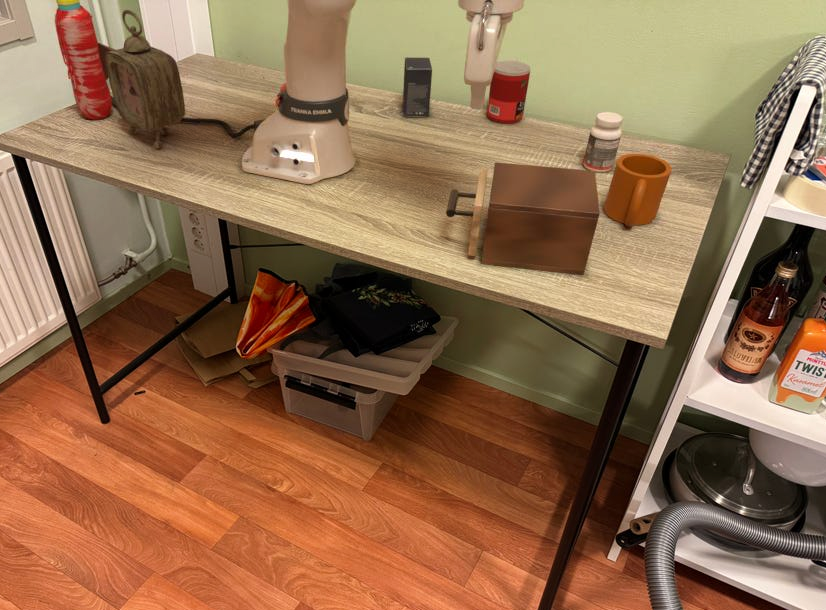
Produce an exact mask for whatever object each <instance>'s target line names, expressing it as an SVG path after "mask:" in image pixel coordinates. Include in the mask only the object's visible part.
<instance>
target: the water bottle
mask: <svg viewBox="0 0 826 610" xmlns="http://www.w3.org/2000/svg"><path fill="white" fill-rule="evenodd" d="M55 1H56V4H57V8H56V11H55V14H54V25H55V31H56V36H57V40H58V45H59V49H60V52H61V56H62V60H63V63H64V64H65V66H66V67H67V76H68V80H70V83H71V88H72V92H73V93H72V94H73V97H74V100H75V104H76V107H77V109H78V111H79V112H80V114H81V115H82V116H83V117H84V118H86V120H93V121H98V120H103V119H106V118H108V117H109V116H110V115H111V113H112V108H113V104H112V99H111V96H112V95H111V91H110V87H109V84H108V81H109V77H108V72H107V68H106V61H105V53H106V52H110V51H114V50H116V49H115V48H112V47H110V46H107V45H106V44H103V43H100V42H98V37H97V33H96V30H95V24H94V21H93V14H92V13H91V12H90V11H88V10H87V9H86V8H84V6H83V5H82V4H81V2H80V0H55Z"/></svg>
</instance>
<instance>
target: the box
mask: <svg viewBox="0 0 826 610" xmlns="http://www.w3.org/2000/svg"><path fill="white" fill-rule="evenodd" d="M432 78H433V67H432V62H431V58H430V57H407V56H406V57H405V58H404V70H403V88H402V89H403V90H402V109H403V116H404V117H405V118H429V116H430V104H431V91H432Z"/></svg>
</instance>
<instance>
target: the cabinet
mask: <svg viewBox="0 0 826 610" xmlns="http://www.w3.org/2000/svg"><path fill="white" fill-rule="evenodd" d="M596 176H597V175H596V172H595V171H591V170H589V169H577V168H566V167H555V166H553V167H552V166H541V165H531V164H530V165H529V164H519V163H518V164H517V163H509V162H507V163H506V162H497V161H495V162H494V166H493V174H492V180H491V189H490V195H489V202H488V210H487V215H486V224H485V233H484V239H483V240H484V241H483V246H482V254H481V262H480V263H481V265H489V266H498V267H507V268H516V269H525V270H534V271H543V272H553V273H562V274H571V275H579V276H584V274H585V271H586V268H587V264H588V259H589V256H590V252H591V248H592V245H593V241H594V237H595V235H596V230H597V226H598V222H599V218H600V214H601V212H600V203H599V194H598V186H597V177H596Z"/></svg>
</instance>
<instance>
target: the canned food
mask: <svg viewBox="0 0 826 610" xmlns="http://www.w3.org/2000/svg"><path fill="white" fill-rule="evenodd" d="M530 74H531V66H530V65H529V64H527V63H525V62H522V61H517V60H501V61H497V62H496V66H495V70H494V73H493V77H492V81H491V84H490V85H489V92H488V100H487V110H486V114H487V115H486V116H487V118H488V119H489V120H490V121H492V122H494V123H497V124H498V123H499V124H505V125H506V124H507V125H509V124H516V123H518V122H521V120H522V118H523V116H524V113H525V107H526V106H525V105H526V100H527V95H528V87H529V82H530V77H531V75H530Z"/></svg>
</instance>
